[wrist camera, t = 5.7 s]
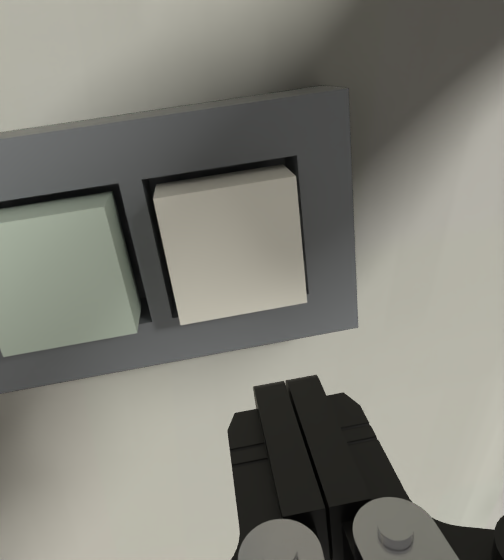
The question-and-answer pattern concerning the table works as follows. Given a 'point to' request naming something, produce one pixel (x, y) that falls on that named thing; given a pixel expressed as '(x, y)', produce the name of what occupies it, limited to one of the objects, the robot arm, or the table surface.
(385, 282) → the table surface
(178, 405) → the table surface
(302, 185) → the panel
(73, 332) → the sage key
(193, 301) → the cream key
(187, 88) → the table surface
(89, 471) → the table surface
